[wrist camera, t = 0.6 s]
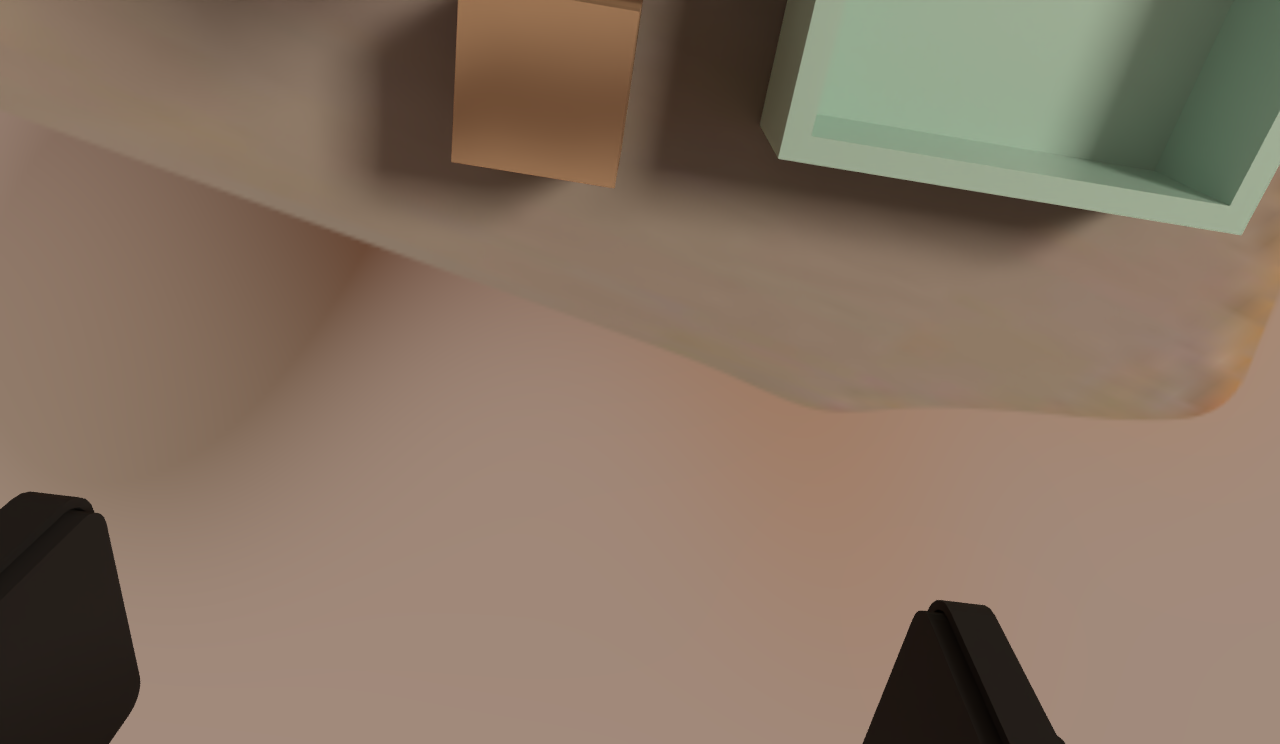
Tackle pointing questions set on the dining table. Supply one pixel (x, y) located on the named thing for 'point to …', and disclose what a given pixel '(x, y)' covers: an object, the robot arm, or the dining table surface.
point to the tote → (1040, 100)
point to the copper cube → (544, 86)
